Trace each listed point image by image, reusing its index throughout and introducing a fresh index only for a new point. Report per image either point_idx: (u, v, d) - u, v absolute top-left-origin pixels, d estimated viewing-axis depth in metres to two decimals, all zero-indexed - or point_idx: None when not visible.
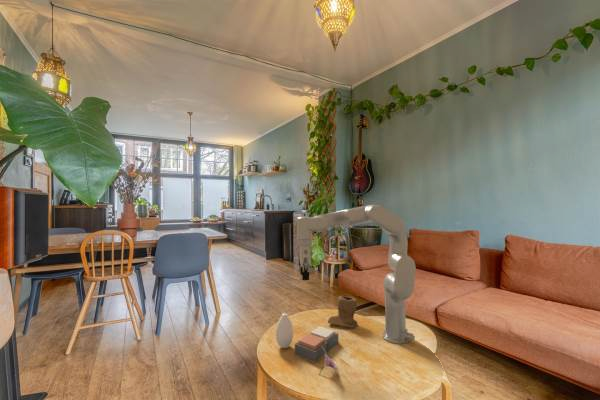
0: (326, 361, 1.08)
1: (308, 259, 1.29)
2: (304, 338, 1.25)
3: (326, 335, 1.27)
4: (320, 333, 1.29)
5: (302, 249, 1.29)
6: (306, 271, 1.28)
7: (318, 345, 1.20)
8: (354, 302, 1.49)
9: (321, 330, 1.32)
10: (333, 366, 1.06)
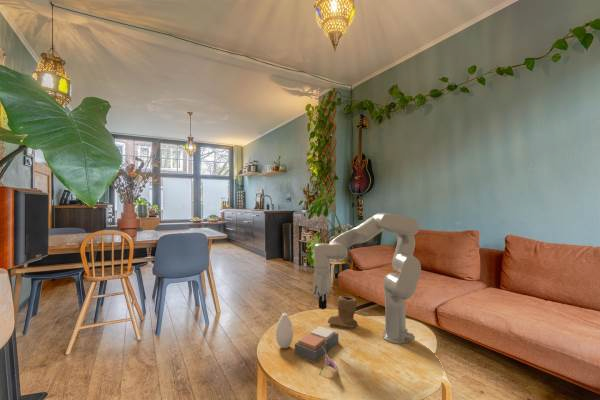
0: (326, 361, 1.08)
1: None
2: (304, 338, 1.25)
3: (326, 335, 1.27)
4: (320, 333, 1.29)
5: None
6: None
7: (318, 345, 1.20)
8: (354, 302, 1.49)
9: (321, 330, 1.32)
10: (333, 366, 1.06)
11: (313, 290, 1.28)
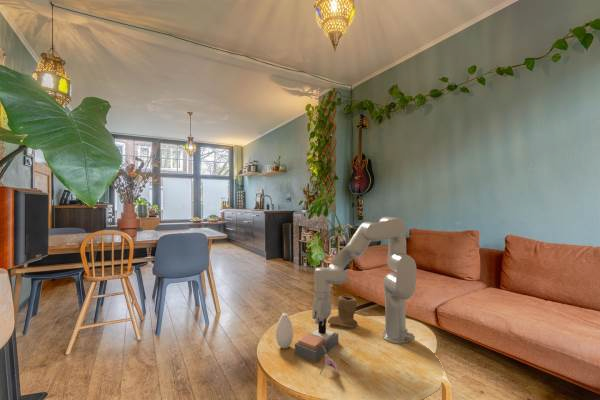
0: (327, 361, 1.08)
1: None
2: (304, 338, 1.25)
3: (326, 336, 1.27)
4: (320, 334, 1.29)
5: None
6: None
7: (318, 345, 1.20)
8: (354, 302, 1.49)
9: None
10: (334, 366, 1.06)
11: (313, 315, 1.28)
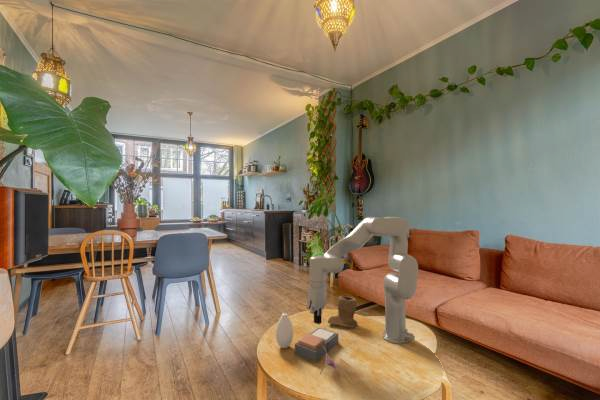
0: (327, 360, 1.08)
1: None
2: (304, 338, 1.25)
3: (326, 338, 1.27)
4: (320, 335, 1.29)
5: None
6: None
7: (318, 345, 1.20)
8: (354, 302, 1.49)
9: (321, 332, 1.32)
10: (334, 365, 1.06)
11: (308, 304, 1.25)
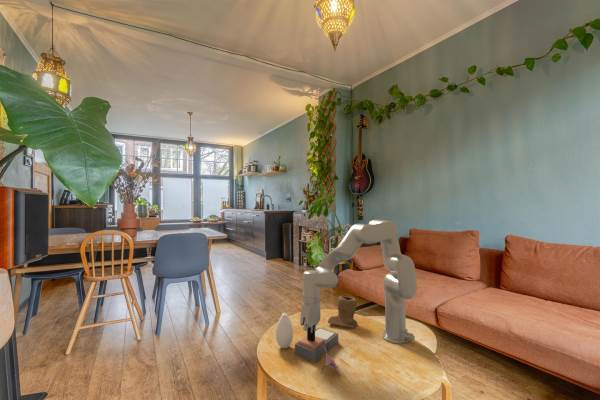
0: (327, 360, 1.08)
1: None
2: (304, 338, 1.25)
3: (326, 338, 1.27)
4: (320, 335, 1.29)
5: None
6: None
7: (318, 345, 1.20)
8: (354, 302, 1.49)
9: (321, 332, 1.32)
10: (334, 365, 1.07)
11: (301, 321, 1.20)
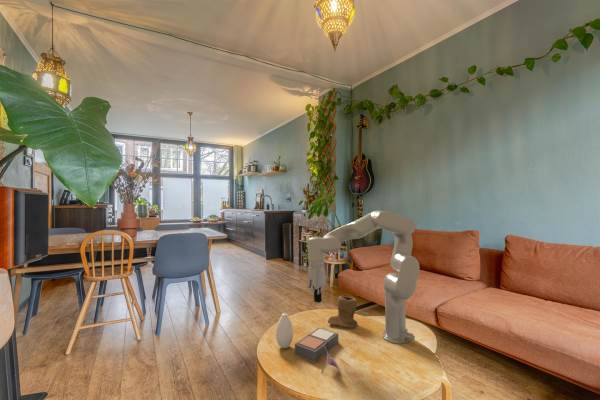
0: (328, 360, 1.09)
1: None
2: (304, 340, 1.25)
3: (326, 338, 1.27)
4: (320, 335, 1.29)
5: None
6: None
7: None
8: (354, 302, 1.49)
9: (321, 332, 1.32)
10: (335, 365, 1.07)
11: (308, 284, 1.28)
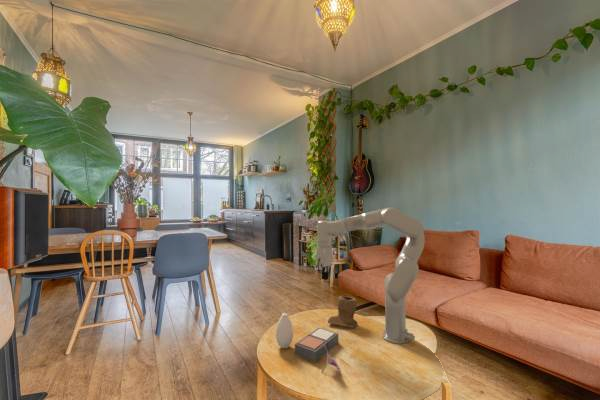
0: (328, 360, 1.09)
1: None
2: (304, 340, 1.25)
3: (326, 338, 1.27)
4: (320, 335, 1.29)
5: None
6: None
7: None
8: (354, 302, 1.49)
9: (321, 332, 1.32)
10: (336, 364, 1.07)
11: (316, 262, 1.42)
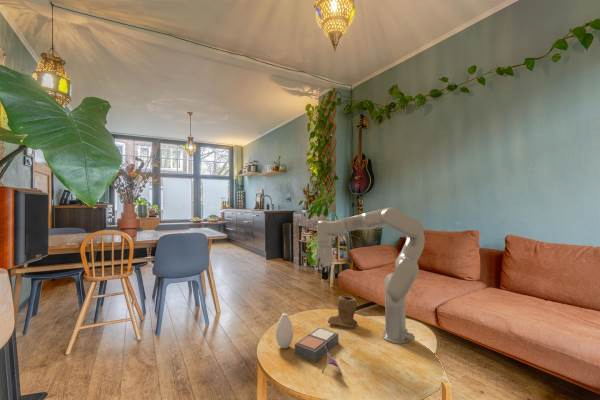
0: (329, 359, 1.09)
1: None
2: (304, 340, 1.25)
3: (326, 338, 1.27)
4: (320, 335, 1.29)
5: None
6: None
7: None
8: (354, 302, 1.49)
9: (321, 332, 1.32)
10: (336, 364, 1.07)
11: (316, 262, 1.42)
